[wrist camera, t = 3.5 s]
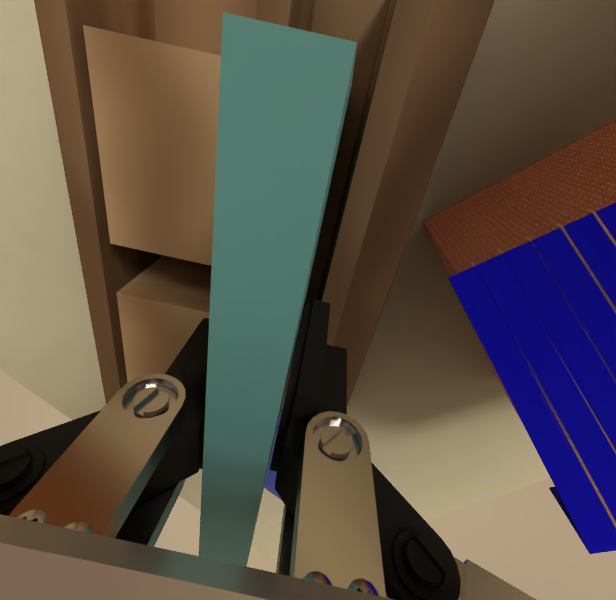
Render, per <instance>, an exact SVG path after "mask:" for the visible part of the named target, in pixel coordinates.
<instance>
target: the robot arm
mask: <svg viewBox="0 0 616 600" xmlns="http://www.w3.org/2000/svg"><path fill="white" fill-rule="evenodd" d="M329 314H330V303H327V302H322V301H318V300H313V304H310V303H306V305H305V310H304V314H303V319H302V323H301V328H300V332H299V337H298V342H297V346H296V351H295V355H294V360H293V364H292V369H291V373H290V378H289V383H288V387H287V392H286V396H285V401H284V405H283V410H282V414H281V419H280V424H279V428H278V433H277V437H276V442H275V446H274V451H273V456H272V460H271V465H270V469H269V470H271V471H276V472H277V474H276V480H275V490H276V492H277V493H278V495H279V496H280V498H281V499H282V501H283V502H284V504H285V506H284V510H283V519H282V527H281V535H280V544H279V552H278V561H277V569H276V573H272V572H268V571H263V570H258V569H254V568H249V567H245V566H240V565H236V564H231V563H226V562H222V561H217V560H213V559H208V558H203V557H199V556H194V555H189V554H185V553H180V552H176V551H171V550H166V549H161V548H157V547H154V545H155V543H156V541H157V539H158V537H159V535H160V533H161V531H162V529H163V527H164V525H165V523H166V521H167V519H168V517H169V514H170V512H171V510H172V508H173V506H174V504H175V502H176V500H177V498H178V496H179V494H180V492H181V490H182V488H183V485H184V482H185V479H186V478H188V477H190V476H192V475H194V474H195V473H197V472H198V471H199V468H200V469H203V449H204V426H205V404H206V381H207V358H208V336H209V318H203V320H202V321H201V322H200V323H199V325H198V326H197V328H196V329H195V331H194V332H193V334H192V335H191V336H190V338H189V339H188V341H187V342H186V344H185V345H184V347H183V348H182V349H181V351H180V352H179V354H178V355H177V357H176V358H175V360H174V361H173V363H172V364H171V365H170V367H169V368H168V370H167V371H166V373H165V374H147V375H144V376H140V377H137V378H135V379H133V380H131V381H129V382H128V383H126V384H125V385H124V386H123V387H122V388H121V389H120V390H119V391H118V392H117V393H116V394H115V395H114V396H113V398H112V399H111V400H110V401H109V402H108V403H107V404H106V405H105V407H104V408H103V409H102V410H101V411H98V412H95V413H92V414H89V415H86V416H84V417H81V418H78V419H75V420H72V421H70V422H67V423H64V424H61V425H58V426H55V427H52V428H50V429H47V430H44V431H41V432H38V433H35V434H33V435H30V436H27V437H24V438H21V439H19V440H16V441H13V442H10V443H7V444H4V445H2V446H0V600H536V599H534V598H532V597H531V596H529V595H528V594H526V593H524V592H522V591H521V590H519V589H517V588H516V587H514V586H512V585H510V584H509V583H507V582H505V581H504V580H502V579H500V578H498V577H497V576H495V575H493V574H492V573H490V572H488V571H487V570H485V569H483V568H481V567H480V566H478V565H476V564H474V563H473V562H471V561H469V560H468V559H467V560H466V561H465V562H464V563H463V562H461V561H460V560H458V559H456V558H454V557H453V555H452V553H451V551H450V549H449V548H448V547H447V545H446V544H445V543H444V541H443V540H442V539H441V538H440V537H439V536H438V535H437V533H436V532H435V531H434V530H433V529H432V528H431V527H430V526H429V525H428V524H427V522H426V521H425V520H424V519H423V518H422V517H421V516H420V515H419V514H418V513H417V511H416V510H415V509H414V508H413V507H412V506H411V505H410V504H409V503H408V502H407V501H406V499H405V498H404V497H403V496H402V495H401V494H400V493H399V492H398V491H397V490H396V489H395V487H394V486H393V485H392V484H391V483H390V482H389V481H388V480H387V479H386V478H385V477H384V475H383V474H382V473H381V472H380V471H379V470H378V469H377V468H376V467H375V466H374V464H373V463H372V462H371V454H370V445H369V441H368V437H367V434H366V432H365V431H364V429H363V428H362V426H361V425H360V424H359V423H358V422H357V421H356V420H355V419H353V418H351V417H349V416H348V415H347V349H346V348H341V347H337V346H332V345H328V344H327V335H328V325H329Z"/></svg>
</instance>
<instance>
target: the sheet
mask: <svg viewBox="0 0 616 600" xmlns="http://www.w3.org/2000/svg"><path fill="white" fill-rule="evenodd" d="M356 47H357V42H354V41H350V40H345V39H341V38H336V37H332V36H327V35H323V34H318V33H314V32H309V31H305V30H300V29H296V28H292V27H287V26H283V25H278V24H274V23H269V22H265V21H260V20H256V19H251V18H247V17H242V16H238V15H233V14H229V13H224V12H223V19H222V41H221V64H220V87H219V109H218V132H217V155H216V177H215V200H214V223H213V245H212V268H211V291H210V313H209V336H208V358H207V381H206V404H205V426H204V449H203V472H202V494H201V517H200V540H199V557H203V558H208V559H213V560H217V561H222V562H226V563H231V564H236V565H240V566H245V567H246V566H247V561H248V556H249V552H250V547H251V543H252V539H253V534H254V530H255V525H256V521H257V516H258V512H259V507H260V503H261V498H262V494H263V489H264V485H265V480H266V476H267V471H268V467H269V463H270V458H271V454H272V449H273V445H274V440H275V436H276V431H277V427H278V422H279V418H280V413H281V409H282V404H283V400H284V395H285V391H286V386H287V382H288V377H289V373H290V368H291V364H292V359H293V355H294V350H295V345H296V341H297V336H298V332H299V327H300V322H301V318H302V313H303V309H304V304H305V300H306V295H307V290H308V286H309V281H310V277H311V272H312V267H313V263H314V258H315V254H316V249H317V244H318V240H319V235H320V231H321V226H322V221H323V217H324V212H325V208H326V203H327V199H328V194H329V189H330V185H331V180H332V176H333V171H334V166H335V162H336V157H337V153H338V148H339V143H340V139H341V134H342V130H343V125H344V120H345V116H346V111H347V107H348V102H349V98H350V93H351V86H352V78H353V70H354V63H355V55H356Z"/></svg>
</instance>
